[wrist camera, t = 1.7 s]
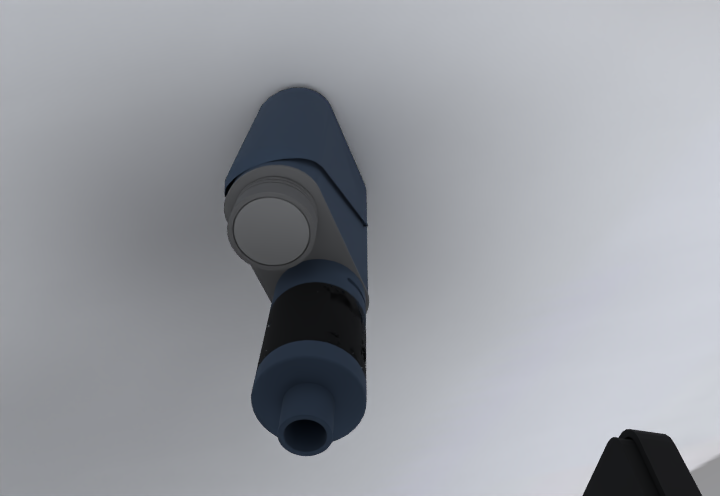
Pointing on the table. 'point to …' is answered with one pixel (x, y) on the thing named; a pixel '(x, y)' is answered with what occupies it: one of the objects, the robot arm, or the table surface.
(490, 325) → the table surface
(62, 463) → the table surface
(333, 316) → the vaping device
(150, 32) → the table surface
